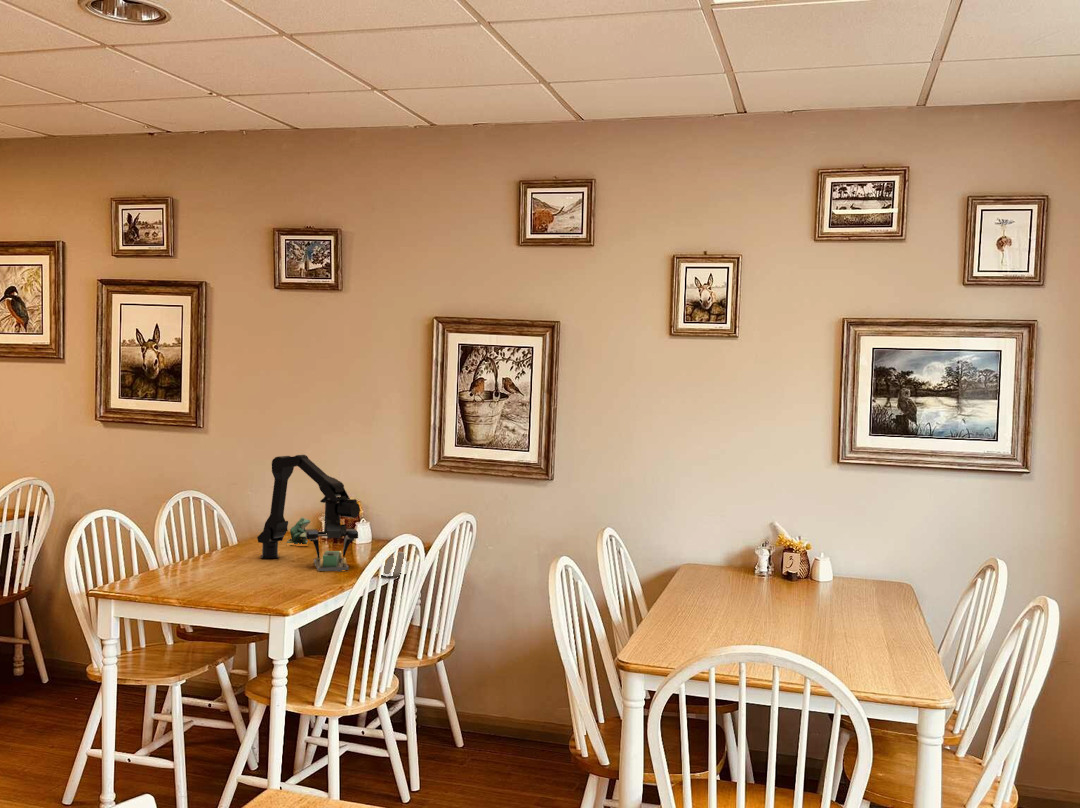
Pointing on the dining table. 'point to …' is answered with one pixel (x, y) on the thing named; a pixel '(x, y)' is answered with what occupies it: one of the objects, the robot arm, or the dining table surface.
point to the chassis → (339, 567)
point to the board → (330, 558)
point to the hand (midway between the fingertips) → (331, 557)
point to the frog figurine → (299, 532)
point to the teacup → (390, 562)
